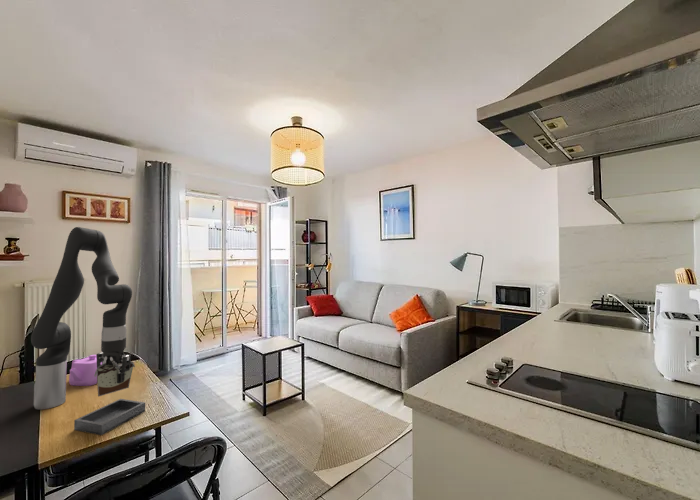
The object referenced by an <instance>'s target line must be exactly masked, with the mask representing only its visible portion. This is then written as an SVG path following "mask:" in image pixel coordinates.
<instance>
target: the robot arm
mask: <svg viewBox="0 0 700 500" xmlns="http://www.w3.org/2000/svg"><path fill="white" fill-rule="evenodd" d="M80 251H83V252H84V251H85V252H93V253H94V254H95V256H96V257H95V260H94V261H93V262H92V265H91V273H92V275H93V278H94V280H95V281H96V289H97V292H96V299H97V301H98V302H99V303H100V304H102V305H113V304H116V306H115V307H113V308H111V309H107V310H105V311H104V312H103V313H102V329H101V339H100V341H101V342H100V343H101V345H100V346H101V347H100V351H101V352H98V353H97V354H95V355H96V357H97V368H98V367H99V366H100V365H101V364H100V363H101V362H102V364H104V365H103V366H106V365H113V366H114V368H115V369H116V370H117V372H118V374H117V383H118V384H120V383H122V382H124V380H125V372H126V371H128V370H130V363H131V360H132V355H131V354H125V352H124V351H125V350H126V348H127V325H126V324H127V312H128V309H129V305H130V302H131V300H132V296H133V290H132V287H131V286H130V285H129V284H126V283H125V284H124V283H123V284H118V283H119V281H120V277H119V274H118V272H117V271H116V269H115V267H114V265H113V262H112V259H111V256H110V248H109V246H108V242H107V238H106V236H105V234H104V233H103V231H101V230H97V229H92V228H87V227H82V226H76V227H74V228H72V229H71V231H70V232H69V234H68V236H67V239H66V243H65V248H64V252H63V256H62V260H61V262H60V266H59V268H58V271H57V273H56V276H55V278H54V280H53V283H52V285H51V286H52V287H51V289H50V292H49V295H48V297H47V301H46V303H45V305H44V308H43V310H42V313H41V315H40V317H39V319H38V320H37V322H36V324H35V326H34V328H33V329H32V333H31V334H30V335H31V336H30V341H31V345H32V346H33V348H35V349H37V350H43V349H44V352H43V353H41V354H40V355H39V356H37V358H36V361H35V382H34V385H33V407H34V409H35V410H47V409H51V408H56V407H58V406H60V405H62V404H64V403H66V398H67V393H66V392H67V371H68V370H67V369H68V368H67V367H68V364H67V363H68V356H69V354H70V351H71V342H72V331H71V327H70V326H69V324H67V323H66V322H62V321H61V319H62V317H63V316H64V315H65V313H66V312H67V311H68V310H69V309H70V308H71V307H72V306H74V304H75V303H76V301H77V300H78V299H79V298H80V296H81V293H82V290H83V287H84V285H85V278H84V276H83V273H82V271H81V269H80V268H81V267H80V266H79V262H78V257H79V254H80ZM120 362H121V364H120V365H117V364H119V363H120ZM126 365H127V367H126ZM120 367H122V369H121V370H120ZM125 367H126V368H125Z"/></svg>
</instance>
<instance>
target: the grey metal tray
mask: <svg viewBox="0 0 700 500" xmlns="http://www.w3.org/2000/svg"><path fill="white" fill-rule="evenodd" d="M144 412H146V402H144V401H138V400H131V399H124V398H119V399H116V400H115V401H112V402H110V403H108V404H106V405H104V406H101V407H100V408H98V409H95V410H93V411H90V412H89V413H87V414H85V415H82V416H81V417H78V418H76V419H74V421H73V422H74V424H73V425H74V427H73V428H74V429H73V430H74V431H78V432H82V433H89V434H93V435H96V436H97V435H98V436H103V435H105V434H107V433H108V432H111V431H112V430H114V429H116V428H118V427H119V426H122V425H123V424H125V423H127V422H128V421H130V420H132V419H134V418H135V417H136V418H137V416H139V415H142V414H143V413H144Z"/></svg>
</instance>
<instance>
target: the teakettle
mask: <svg viewBox="0 0 700 500" xmlns="http://www.w3.org/2000/svg"><path fill="white" fill-rule="evenodd" d="M96 355H97V354H91V355H88V356H86V357H84V358H80V359H78V358H77V359H73V360H72V362H71V368H70V369H69V377H68V383H69V385H70V386H79V387H81V386H82V387H84V386H85V387H89V386H94V385H96V384H97V374H96V377H95V376H94V375H95V372H96V370H97V357H96ZM100 364H101V365H102V362H101V363H100Z"/></svg>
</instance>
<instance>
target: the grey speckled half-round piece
mask: <svg viewBox="0 0 700 500" xmlns="http://www.w3.org/2000/svg"><path fill="white" fill-rule="evenodd" d="M120 364H121V362H120V363H119V364H117V365H120ZM103 365H104V364H102V365H100V366H99V367H98V368H97V370H96V372H95V375H94V376H95V377H96V374H97V385H96V386H97V387H96V388H97V396H98V397H102V396H105V395H110V394H112V393H116V392H119V391H122V390H126V389H130V388H129V387H130V383H131V377H132V375H133V369H134V368H135V367H136V366H135V363H134V362H133V361H131V363H130V370H128V371H126V372H125V380H124V382H122V383H120V384H118V383H117V374H118V372H117V370H116V369H115V368H114V366H113V365H106V366H103ZM126 367H127V365H126ZM126 367H125V368H126ZM121 369H122V367H120V370H121Z"/></svg>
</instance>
